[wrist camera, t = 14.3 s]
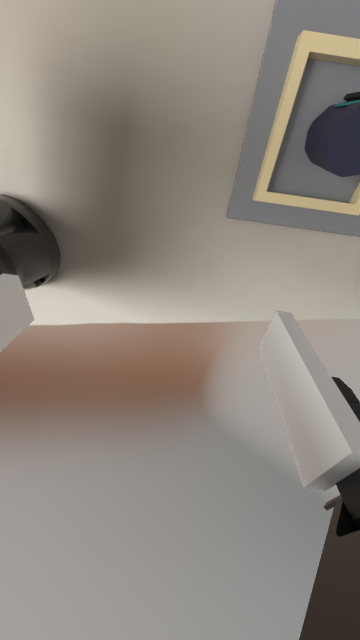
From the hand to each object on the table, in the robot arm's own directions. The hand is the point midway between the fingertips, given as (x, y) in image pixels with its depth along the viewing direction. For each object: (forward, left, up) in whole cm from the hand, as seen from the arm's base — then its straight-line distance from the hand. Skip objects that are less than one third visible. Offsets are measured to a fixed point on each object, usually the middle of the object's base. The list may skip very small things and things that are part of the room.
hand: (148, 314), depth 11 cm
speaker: (+17, +11, -26) cm, 33 cm away
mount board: (+17, +11, -27) cm, 34 cm away
